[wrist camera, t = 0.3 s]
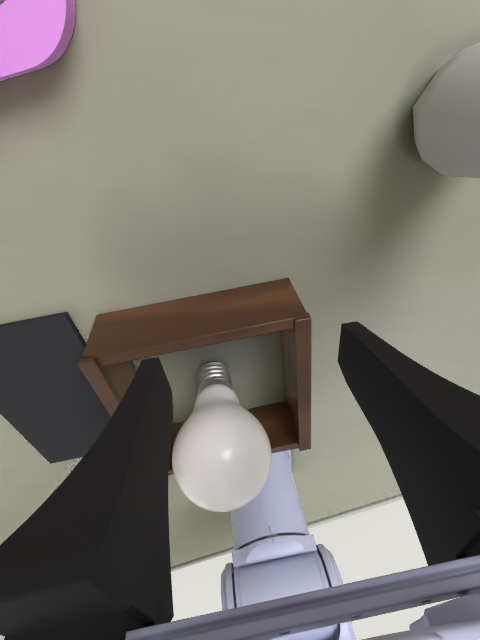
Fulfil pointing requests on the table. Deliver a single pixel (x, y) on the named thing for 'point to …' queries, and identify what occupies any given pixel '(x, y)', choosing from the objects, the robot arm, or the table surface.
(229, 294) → the open wooden tray
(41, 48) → the bracket
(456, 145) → the salt shaker
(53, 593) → the robot arm
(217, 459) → the lightbulb
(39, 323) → the mat
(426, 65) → the table surface
